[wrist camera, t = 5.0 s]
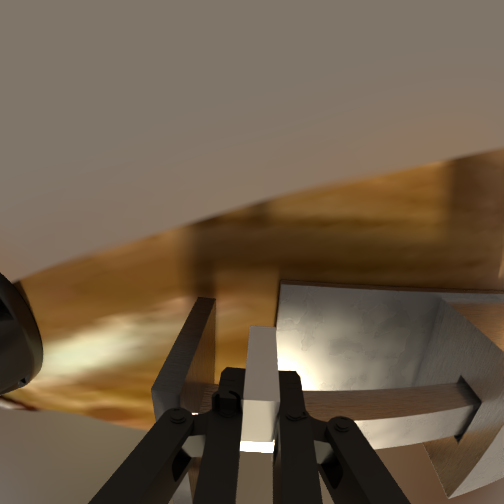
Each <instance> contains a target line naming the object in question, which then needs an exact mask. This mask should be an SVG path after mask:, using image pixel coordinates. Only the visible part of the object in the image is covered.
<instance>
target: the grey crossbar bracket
mask: <svg viewBox="0 0 504 504" xmlns="http://www.w3.org/2000/svg"><path fill="white" fill-rule="evenodd" d="M215 315H216V299H214V298H203V297H198V299H197V301H196V303H195V304H194V306H193V308H192V310H191V312H190V314H189V316H188V318H187V320H186V322H185V324H184V326H183V327H182V329H181V331H180V333H179V335H178V337H177V339H176V341H175V343H174V345H173V347H172V349H171V351H170V353H169V355H168V357H167V359H166V361H165V363H164V365H163V367H162V369H161V370H160V372H159V374H158V376H157V378H156V380H155V382H154V384H153V386H152V388H151V393H152V400H153V406H154V413H155V419H156V422H157V421H158V419H159V418H160V417H161V416H162V414H163V413H164V412H165V411H167V410H168V409H171V408H176V407H180V408H185V409H187V410H189V411H190V412H191V413H192V414H193V415H194V414H202V413H206V412H208V411H210V410H211V409H212V395H213V393H214V392H216V391H217V390H218V387H219V385H218V384H214V373H215ZM303 395H304V402H305V408H306V411H307V412H308V413H309V415H310V416H311V417H313V418H315V419H318V420H321V421H326V422H328V421H329V420H330V419H331V418H333V417H336V416H344V417H348V418H350V419H352V420H353V421H354V422H355V423H356V424H357V425H358V427H359V428H360V430H361V431H362V433H363V434H364V436H365V437H366V439H367V440H368V442H369V443H370V445H371V446H372V448H373V449H380V448H388V447H395V446H402V445H409V444H415V443H421V442H426V441H431V440H436V439H441V438H446V437H450V436H454V435H458V434H462V433H465V432H466V430H467V429H468V427H469V425H470V424H471V422H472V420H473V419H474V417H475V415H476V413H477V411H478V410H479V408H480V406H481V404H482V401H481V399H480V398H479V397H478V396H477V394H476V393H475V392H474V390H473V389H472V388H471V387H470V385H469V384H468V383H467V382H466V381H458V382H451V383H444V384H435V385H427V386H417V387H405V388H392V389H375V390H343V391H314V390H303ZM273 447H274V441H273V443H257V442H243V441H241V447H240V450H243V451H255V452H273ZM201 459H202V456H199V457H196V459H195V461H194V462H193V464H192V466H191V467H190V469H189V470H188V472H187V474H186V475H185V477H184V479H183V480H182V482H181V484H180V485H179V487H178V488H177V490H176V492H175V493H174V495H173V496H172V498H173V502H174V504H192V503H193V498H194V493H195V488H196V484H197V479H198V474H199V469H200V464H201Z"/></svg>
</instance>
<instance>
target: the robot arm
mask: <svg viewBox="0 0 504 504" xmlns="http://www.w3.org/2000/svg"><path fill="white" fill-rule="evenodd" d="M42 362H43V351H42V344H41V339H40V336H39V333H38V329H37V327H36V324H35V322H34V319H33V317H32V315H31V313H30V311H29V309H28V307H27V305H26V304H25V302H24V300H23V299H22V297H21V296H20V294H19V293H18V291H17V290H16V289H15V287H14V286H13V285H12V284H11V282H10V281H9V280H8V279H7V278H6V277H5V276H4V275H2V274H1V273H0V395H3V394H5V393H8V392H10V391H13V390H16V389H18V388H21V387H23V386H25V385H27V384H28V383H29V382H30V381H31V380H32V379H33V378H34V377H35V376H36V375H37V374H38V373H39V371H40V369H41V367H42ZM241 441H243V442H257V443H273V441H274V447H273V452H272V458H271V461H273V504H323V503H322V495H321V488H320V481H319V473H320V475H321V477H322V479H323V481H324V483H325V485H326V487H327V489H328V491H329V493H330V495H331V497H332V500H333V502H334V504H411V503H410V502H409V500H408V499H407V497H406V496H405V495H404V493H403V492H402V490H401V489H400V487H399V486H398V484H397V483H396V481H395V480H394V478H393V477H392V476H391V474H390V473H389V471H388V470H387V468H386V467H385V465H384V464H383V462H382V461H381V460H380V458H379V456H378V455H377V454H376V452H375V451H374V449H373V448H372V446H371V445H370V443H369V442H368V440H367V439H366V437H365V436H364V434H363V433H362V431H361V430H360V428H359V427H358V425H357V424H356V423H355V422H354V421H353V420H352V419H350V418H348V417H344V416H336V417H333V418H331V419H330V420H329V421H328V422H326V421H321V420H318V419H315V418H313V417H311V416H310V415H309V413H308V412H307V411H306V408H305V402H304V395H303V390H302V382H301V377H300V375H299V374H298V373H297V372H296V371H287V370H278V356H277V340H276V327H264V326H250V331H249V342H248V353H247V363H246V369H244V368H232V367H226V368H225V369H224V370H223V371H222V372H221V377H220V382H219V387H218V390H217V391H216V392H214V393H213V395H212V409H211V410H210V411H208V412H206V413H202V414H194V415H193V414H192V413H191V412H190V411H189V410H187V409H185V408H180V407H176V408H171V409H168V410H167V411H165V412H164V413H163V414H162V416H161V417H160V418H159V419H158V421H157V422H156V423H155V424H154V425H153V427H152V428H151V429H150V430H149V432H148V433H147V434H146V435H145V437H144V438H143V439H142V440H141V441H140V443H139V444H138V445H137V446H136V447H135V449H134V450H133V451H132V452H131V453H130V455H129V456H128V457H127V458H126V460H125V461H124V462H123V463H122V464H121V465H120V467H119V468H118V469H117V470H116V471H115V473H114V474H113V475H112V476H111V477H110V479H109V480H108V481H107V482H106V483H105V484H104V486H103V487H102V488H101V489H100V490H99V492H98V493H97V494H96V495H95V496H94V497H93V498H92V500H91V501H90V502H89V503H88V504H168V503H169V501H170V499H171V498H172V496H173V495H174V493H175V492H176V490H177V488H178V487H179V485H180V484H181V482H182V480H183V479H184V477H185V475H186V474H187V472H188V470H189V469H190V467H191V466H192V464H193V462H194V461H195V459H196V457H199V456H202V459H201V464H200V469H199V474H198V479H197V484H196V488H195V493H194V498H193V503H192V504H236V491H237V481H238V469H239V459H240V447H241ZM318 471H319V473H318Z"/></svg>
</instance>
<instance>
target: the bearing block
mask: <svg viewBox="0 0 504 504" xmlns="http://www.w3.org/2000/svg"><path fill="white" fill-rule="evenodd" d="M276 340H277V356H278V370H287V371H296V372H297V373H298V374H299V375H300V377H301V382H302V390H314V391H343V390H375V389H392V388H405V387H417V386H427V385H435V384H444V383H451V382H458V381H466V382H467V383H468V384H469V385H470V387H471V388H472V389H473V390H474V392H475V393H476V394H477V396H478V397H479V398H480V399H481V401H482V404H481V406H480V408H479V410H478V411H477V413H476V415H475V417H474V419H473V420H472V422H471V424H470V425H469V427H468V429H467V430H466V432H465V433H462V434H458V435H454V436H450V437H446V438H441V439H436V440H431V441H426V442H422V443H423V445H424V447H425V449H426V451H427V454H428V456H429V458H430V460H431V462H432V464H433V466H434V469H435V471H436V473H437V475H438V477H439V480H440V482H441V484H442V486H443V489H444V491H445V493H446V496H447V498H448V499H449V498H452V497H455V496H458V495H461V494H464V493H466V492H469V491H472V490H474V489H477V488H480V487H482V486H485V485H487V484H489V483H492V482H494V481H496V480H498V479H500V478H503V477H504V291H498V290H463V289H436V288H413V287H392V286H373V285H355V284H338V283H322V282H307V281H293V280H281V284H280V293H279V303H278V312H277V321H276Z"/></svg>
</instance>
